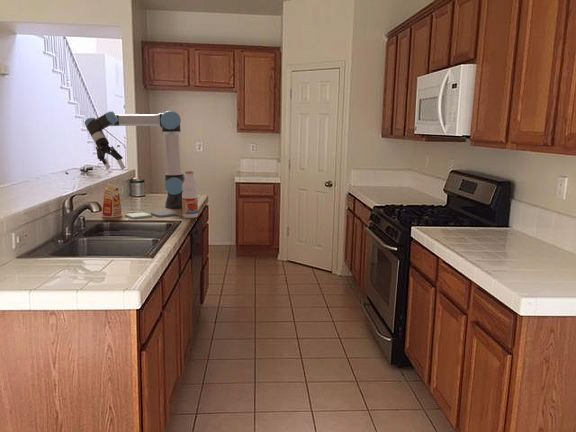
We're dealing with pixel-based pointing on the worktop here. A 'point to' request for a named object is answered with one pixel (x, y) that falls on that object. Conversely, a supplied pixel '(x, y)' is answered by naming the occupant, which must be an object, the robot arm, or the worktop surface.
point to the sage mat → (138, 215)
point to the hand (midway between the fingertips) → (116, 168)
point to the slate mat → (163, 214)
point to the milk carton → (111, 202)
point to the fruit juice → (189, 196)
